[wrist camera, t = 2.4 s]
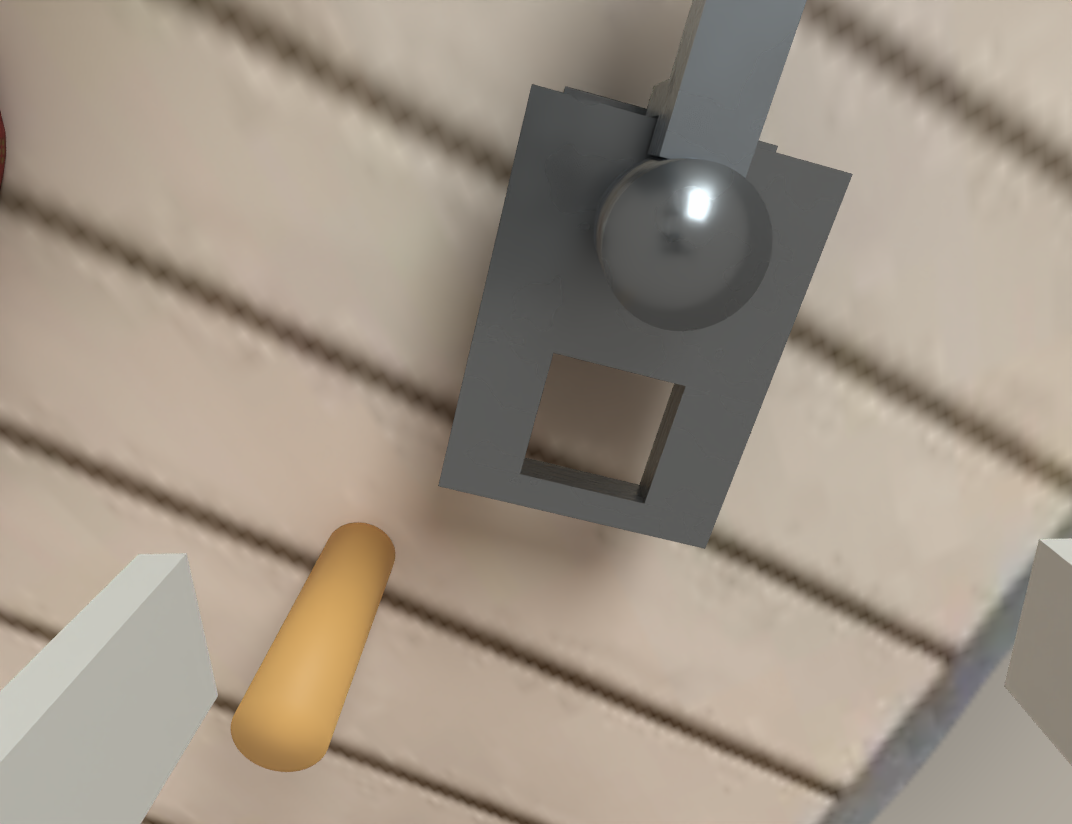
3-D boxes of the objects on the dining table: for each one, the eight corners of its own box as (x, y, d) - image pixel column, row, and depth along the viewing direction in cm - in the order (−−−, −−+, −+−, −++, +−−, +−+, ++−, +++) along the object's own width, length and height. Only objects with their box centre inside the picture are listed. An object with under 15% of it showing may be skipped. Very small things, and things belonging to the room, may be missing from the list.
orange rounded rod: (321, 573, 34) (225, 761, 24) (331, 515, 33) (235, 686, 23) (388, 588, 34) (321, 780, 24) (400, 531, 33) (336, 707, 23)
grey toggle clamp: (457, 423, 31) (419, 545, 22) (608, -216, 23) (648, -450, 14) (677, 476, 32) (731, 616, 23) (895, -125, 24) (1115, -289, 15)
